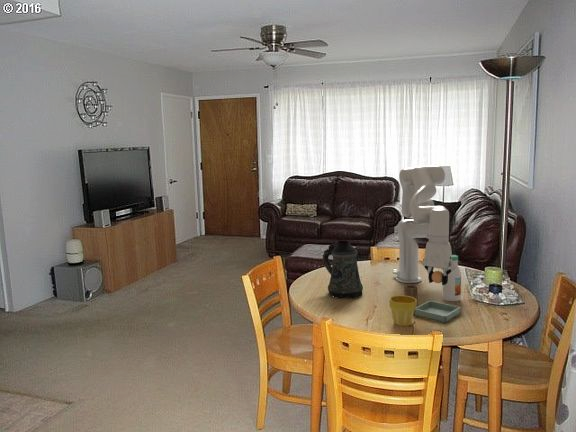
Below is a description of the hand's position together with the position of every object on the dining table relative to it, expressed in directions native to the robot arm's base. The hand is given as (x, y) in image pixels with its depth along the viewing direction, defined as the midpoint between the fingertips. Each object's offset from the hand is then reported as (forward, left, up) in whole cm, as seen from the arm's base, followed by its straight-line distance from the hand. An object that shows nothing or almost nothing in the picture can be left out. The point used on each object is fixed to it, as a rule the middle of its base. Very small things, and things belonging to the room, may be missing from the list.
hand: (438, 282), depth 195 cm
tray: (0, 0, -14) cm, 14 cm away
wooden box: (-16, +7, -14) cm, 22 cm away
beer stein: (-47, -2, -14) cm, 49 cm away
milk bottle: (-4, +22, -14) cm, 26 cm away
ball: (0, 0, +2) cm, 2 cm away
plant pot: (-6, -17, -14) cm, 23 cm away
